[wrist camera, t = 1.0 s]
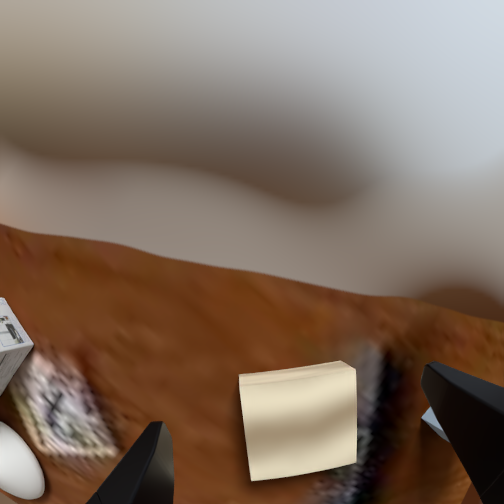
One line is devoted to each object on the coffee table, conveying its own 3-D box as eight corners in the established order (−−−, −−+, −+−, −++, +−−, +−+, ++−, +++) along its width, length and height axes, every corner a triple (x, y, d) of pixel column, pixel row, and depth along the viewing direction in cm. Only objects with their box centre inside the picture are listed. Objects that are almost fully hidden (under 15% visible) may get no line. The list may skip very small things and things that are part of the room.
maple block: (342, 444, 25) (356, 462, 21) (249, 459, 24) (251, 481, 20) (339, 359, 26) (355, 369, 22) (239, 373, 25) (239, 386, 21)
